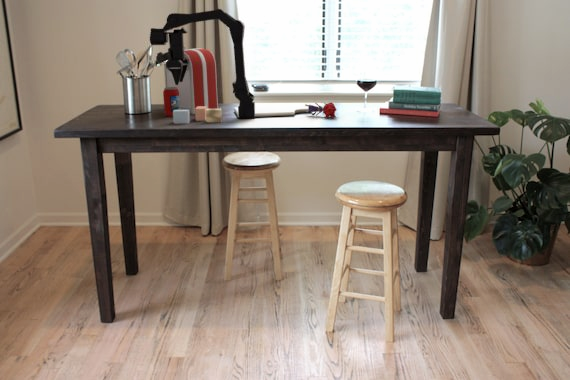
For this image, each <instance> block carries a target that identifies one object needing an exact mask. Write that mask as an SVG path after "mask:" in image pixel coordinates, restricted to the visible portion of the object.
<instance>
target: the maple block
mask: <svg viewBox="0 0 570 380" xmlns="http://www.w3.org/2000/svg"><path fill="white" fill-rule="evenodd" d="M222 109H223V108H221V107H220V108H217V109H206V120H205V121H206V123H222V121H223V112H222V111H223V110H222Z"/></svg>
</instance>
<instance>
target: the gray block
mask: <svg viewBox="0 0 570 380" xmlns="http://www.w3.org/2000/svg"><path fill="white" fill-rule="evenodd" d="M190 115H191V114H190V112H189V110H174V111H173V117H172V119H173V124H189V123H190V122H191V116H190Z"/></svg>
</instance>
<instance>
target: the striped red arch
mask: <svg viewBox="0 0 570 380" xmlns="http://www.w3.org/2000/svg"><path fill="white" fill-rule="evenodd" d="M184 57H187V58H188V59H189V64H185V65H188V67H187V70H186V73H185V76H184V79H183V82H180V81H179V84H178V85H175V82H174V78H173V75H172V73H171V72H170V71H169V70H168V69H167V68H166V64H164V63H163V68H164V69H163V70H164V72H163V73H164V84H165V87H164V88H167V87H177V89H178V91H179V98H180V110H189V112H190V115H195V108H196V107H197V106H207V109H219V107H218V106H219V103H218V85H217V83H218V82H217V63H216V59H215V56H214V54H213V53H212V51H211V50H209V49H205V48H201V47H200V48H199V47H198V48H197V47H196V48H189V49H188V48H187V49H186V48H185V50H184Z"/></svg>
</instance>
